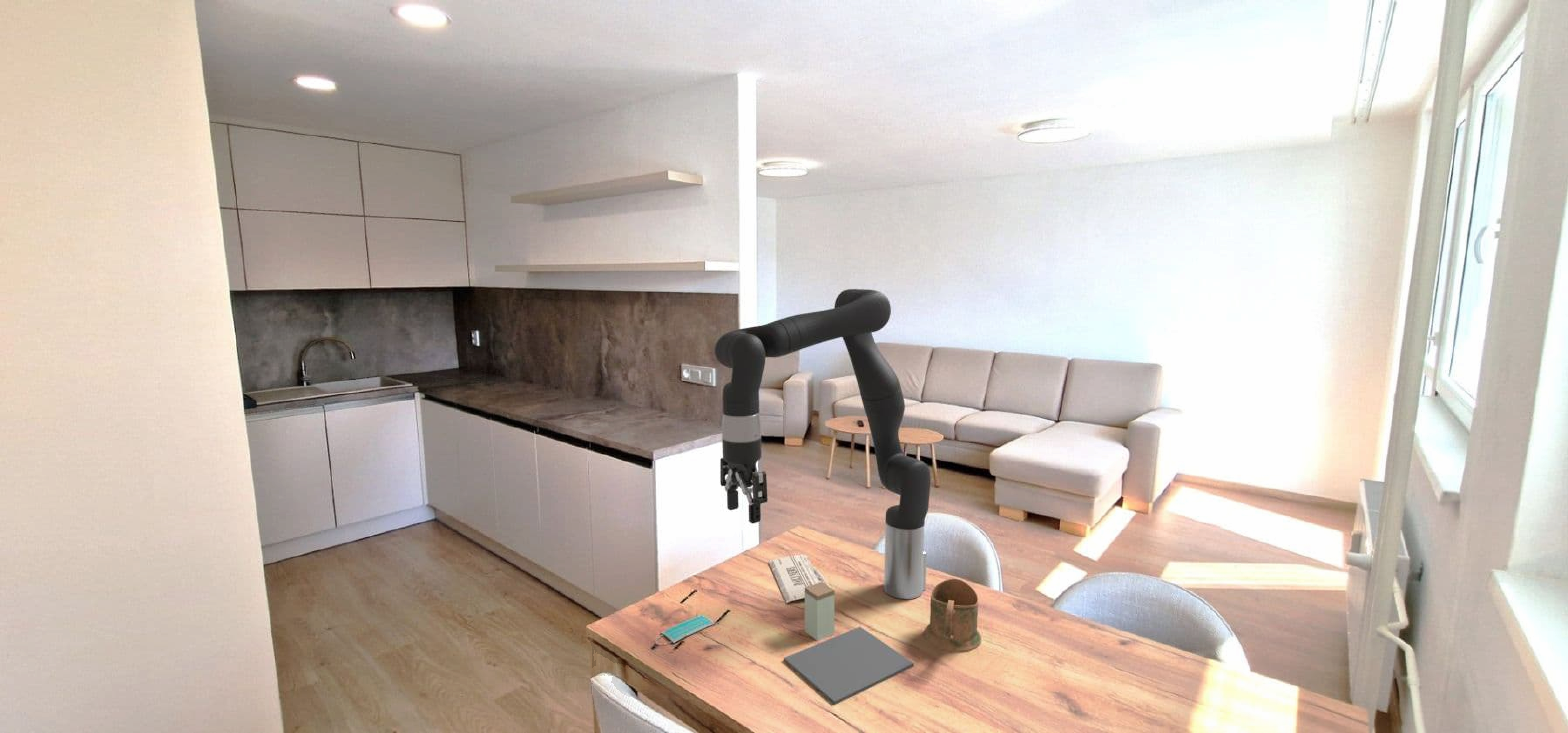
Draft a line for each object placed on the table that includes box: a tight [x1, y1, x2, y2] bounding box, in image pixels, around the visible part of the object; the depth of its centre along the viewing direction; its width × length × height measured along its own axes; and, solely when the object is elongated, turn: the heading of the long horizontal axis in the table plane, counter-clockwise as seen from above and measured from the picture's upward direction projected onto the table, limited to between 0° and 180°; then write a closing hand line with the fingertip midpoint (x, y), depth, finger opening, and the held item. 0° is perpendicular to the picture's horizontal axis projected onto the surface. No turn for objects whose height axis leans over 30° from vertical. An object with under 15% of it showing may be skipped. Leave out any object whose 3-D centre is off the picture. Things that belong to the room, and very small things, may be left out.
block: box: [804, 582, 835, 642], centre depth 138 cm, size 4×4×10 cm
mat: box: [783, 626, 915, 705], centre depth 128 cm, size 20×16×1 cm
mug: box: [924, 578, 982, 653], centre depth 134 cm, size 12×18×12 cm, turn 160°
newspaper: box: [768, 554, 836, 605], centre depth 163 cm, size 23×12×2 cm, turn 12°
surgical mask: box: [650, 589, 731, 650], centre depth 140 cm, size 21×4×10 cm
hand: (743, 515), depth 127 cm, fingers open, 8 cm apart
